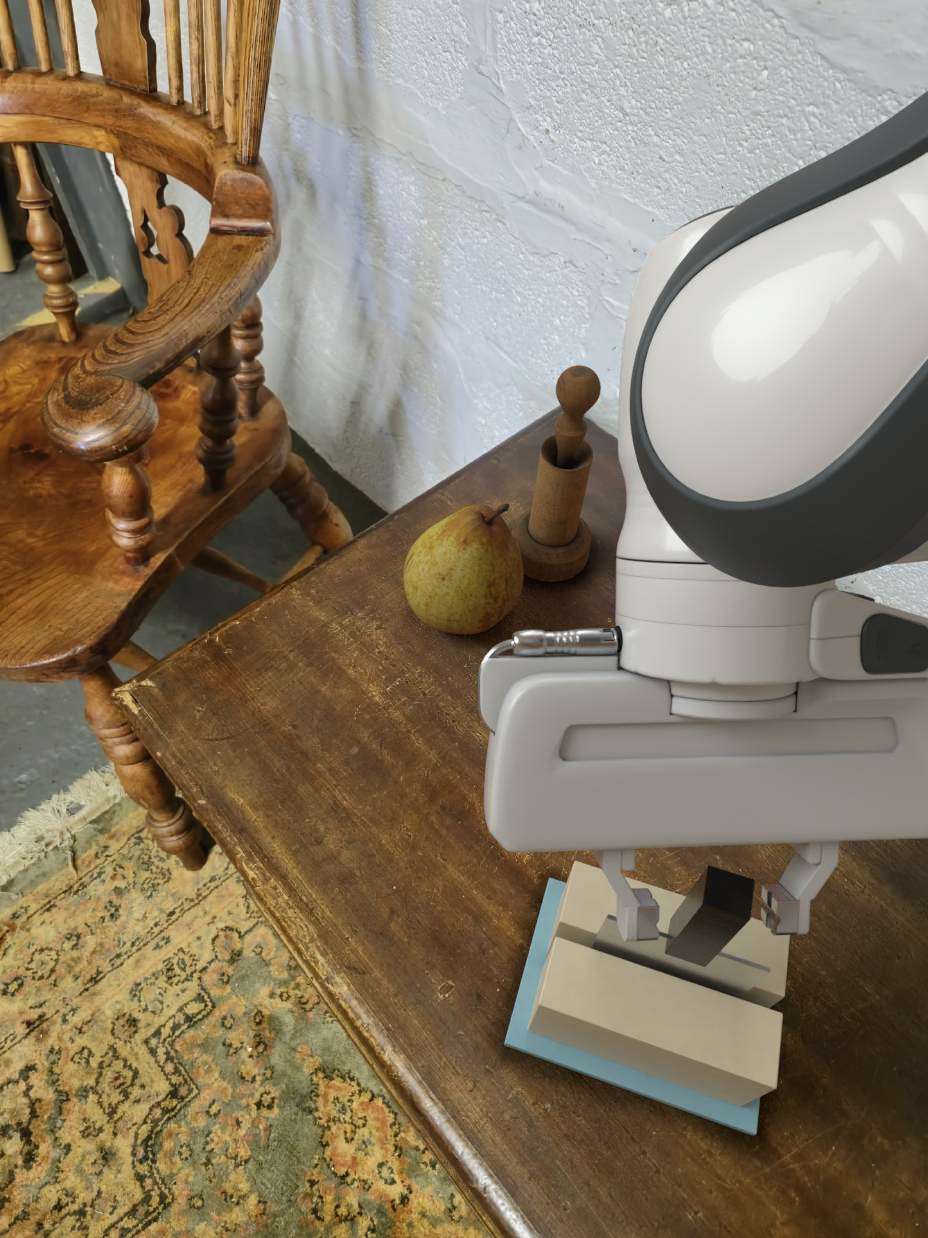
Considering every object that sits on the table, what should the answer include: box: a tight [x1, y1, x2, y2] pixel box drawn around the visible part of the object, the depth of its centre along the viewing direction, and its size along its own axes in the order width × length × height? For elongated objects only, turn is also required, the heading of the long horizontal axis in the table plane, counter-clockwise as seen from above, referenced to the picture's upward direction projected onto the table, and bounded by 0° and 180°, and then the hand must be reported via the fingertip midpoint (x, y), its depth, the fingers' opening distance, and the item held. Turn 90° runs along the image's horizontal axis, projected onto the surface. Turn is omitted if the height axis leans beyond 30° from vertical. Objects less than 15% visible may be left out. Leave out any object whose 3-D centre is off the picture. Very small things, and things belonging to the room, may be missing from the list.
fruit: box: [402, 503, 525, 635], centre depth 62 cm, size 9×9×12 cm
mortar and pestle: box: [511, 364, 602, 583], centre depth 63 cm, size 7×6×18 cm
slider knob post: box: [590, 865, 771, 999], centre depth 41 cm, size 8×2×13 cm, turn 72°
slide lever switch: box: [503, 860, 791, 1137], centre depth 47 cm, size 14×10×7 cm
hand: (710, 932), depth 38 cm, fingers open, 5 cm apart
